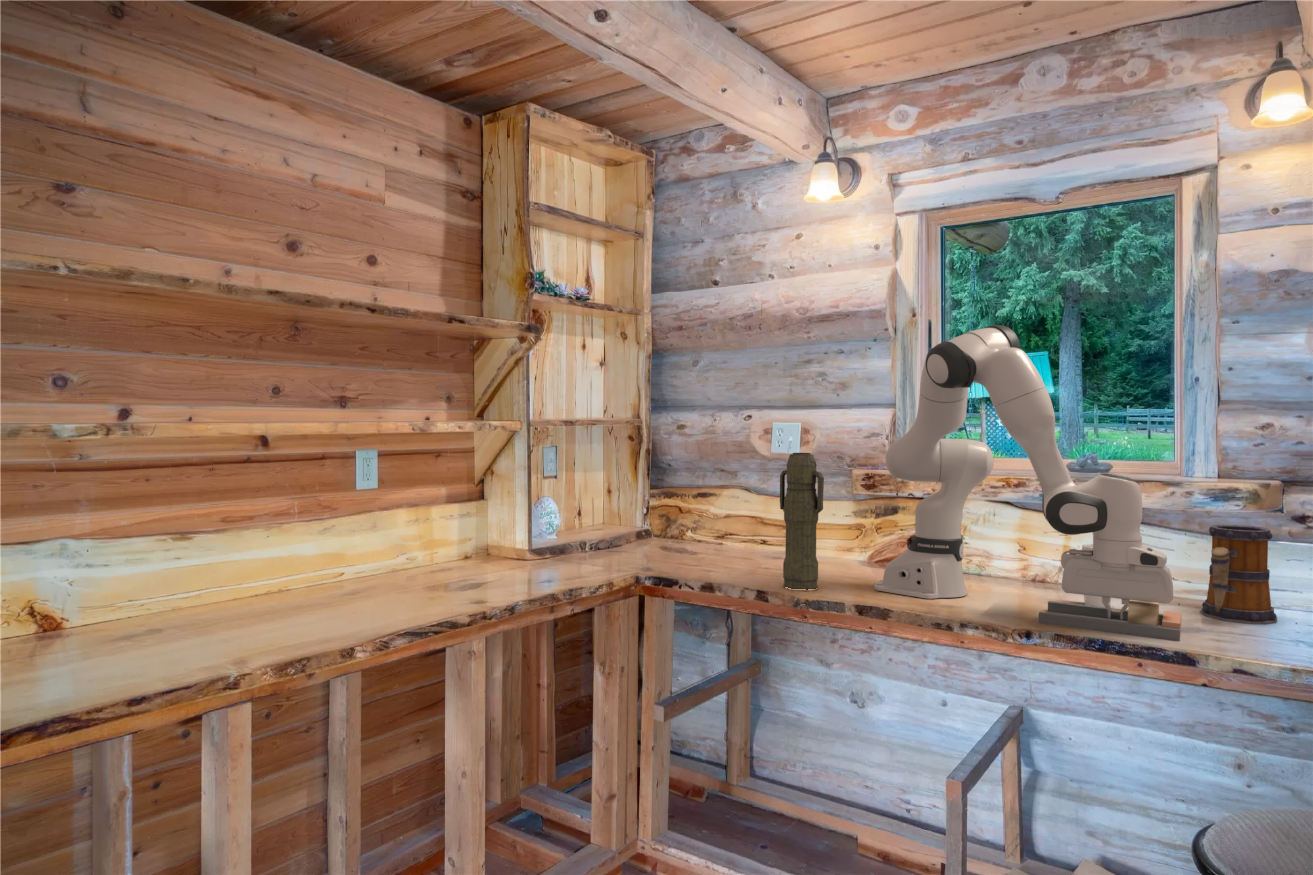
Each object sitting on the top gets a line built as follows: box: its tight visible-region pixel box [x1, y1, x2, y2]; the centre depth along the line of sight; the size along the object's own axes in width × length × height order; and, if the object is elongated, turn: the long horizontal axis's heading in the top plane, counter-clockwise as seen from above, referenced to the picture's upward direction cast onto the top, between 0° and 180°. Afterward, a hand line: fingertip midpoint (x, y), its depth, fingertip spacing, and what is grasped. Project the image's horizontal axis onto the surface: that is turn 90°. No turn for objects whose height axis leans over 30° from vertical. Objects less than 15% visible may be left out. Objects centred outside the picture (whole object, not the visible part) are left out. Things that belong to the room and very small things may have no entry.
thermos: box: [779, 452, 825, 590], centre depth 216 cm, size 9×12×35 cm
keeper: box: [1127, 600, 1160, 626], centre depth 169 cm, size 5×9×5 cm, turn 147°
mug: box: [1199, 524, 1278, 626], centre depth 185 cm, size 19×14×20 cm
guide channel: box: [1038, 600, 1182, 642], centre depth 173 cm, size 25×14×4 cm, turn 57°
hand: (1115, 619), depth 172 cm, fingers closed
